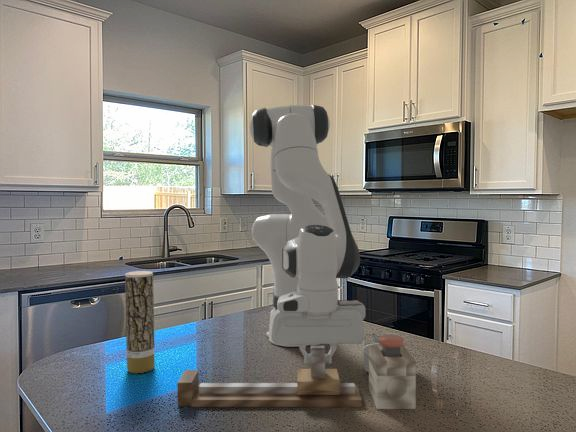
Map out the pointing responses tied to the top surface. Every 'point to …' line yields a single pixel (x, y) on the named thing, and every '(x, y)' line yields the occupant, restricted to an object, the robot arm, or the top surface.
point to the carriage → (318, 376)
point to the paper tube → (139, 321)
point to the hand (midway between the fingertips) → (317, 362)
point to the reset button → (391, 345)
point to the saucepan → (366, 351)
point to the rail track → (382, 384)
